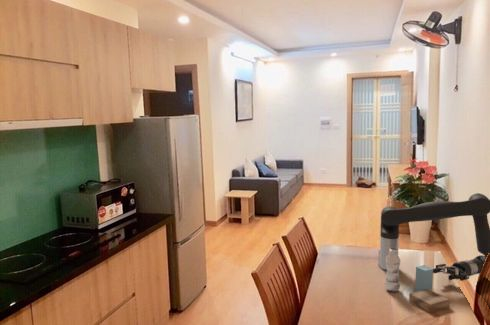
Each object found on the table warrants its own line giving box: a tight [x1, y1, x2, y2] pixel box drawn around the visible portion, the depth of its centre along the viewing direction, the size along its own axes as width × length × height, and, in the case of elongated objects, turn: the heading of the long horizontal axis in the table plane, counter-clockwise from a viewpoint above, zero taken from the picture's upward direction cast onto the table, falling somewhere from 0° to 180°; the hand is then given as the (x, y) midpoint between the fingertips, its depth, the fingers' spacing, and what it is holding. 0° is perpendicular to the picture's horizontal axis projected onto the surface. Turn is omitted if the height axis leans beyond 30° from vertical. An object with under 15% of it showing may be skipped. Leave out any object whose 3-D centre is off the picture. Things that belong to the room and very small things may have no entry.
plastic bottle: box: [384, 248, 401, 293], centre depth 176 cm, size 6×7×20 cm
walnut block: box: [408, 289, 450, 314], centre depth 163 cm, size 11×11×4 cm
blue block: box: [414, 264, 434, 292], centre depth 173 cm, size 5×5×12 cm
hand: (441, 274), depth 177 cm, fingers open, 8 cm apart
